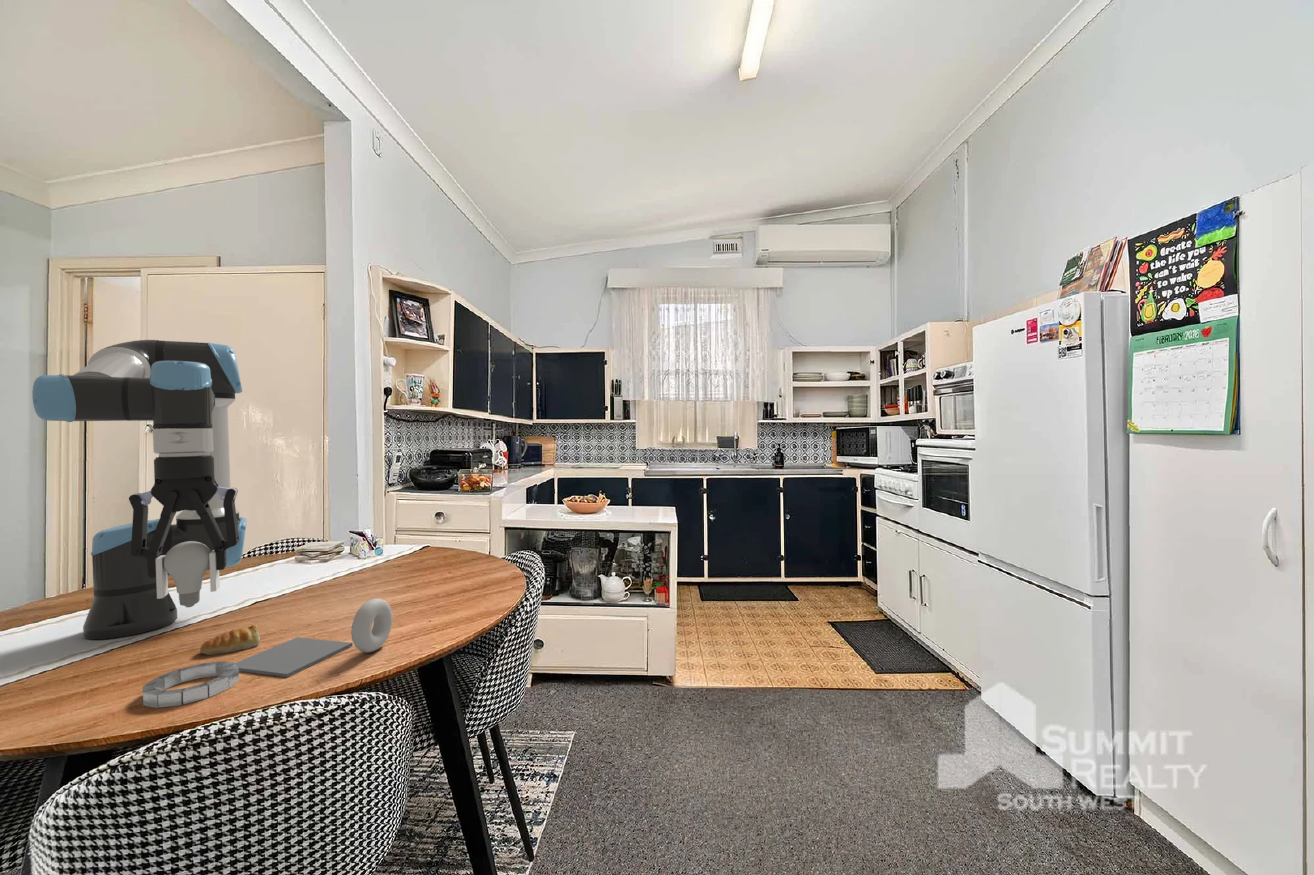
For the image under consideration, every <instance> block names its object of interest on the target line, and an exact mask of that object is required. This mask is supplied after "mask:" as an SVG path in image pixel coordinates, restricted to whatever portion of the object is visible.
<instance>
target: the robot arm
mask: <svg viewBox="0 0 1314 875" xmlns="http://www.w3.org/2000/svg"><path fill="white" fill-rule="evenodd" d="M240 393H243V388H242V384H241V378H240V373H239V368H238V362H237V357H236V352H235V350H234V349H233V347H231V346H229V345H226V344H220V343H211V342H194V341H178V340H177V341H175V340H158V339H140V340H132V341H126V342H119V343H116V344H113V345H109V346H106V347H104V348H102V349H100V350H98V351H96V352H95V353H93V354H92V356H91V357H89V360H88V363H87V365H86V366H85V367H83V368H82V369H80V370H79V371H77V372H75V373H74V374H73V375H71V374H70V375H69V374H66V375H65V374H63V373H61V374H60V373H59V374H50V375H49V374H47V375H46V374H45V375H44V374H43V375H39V376H38V377H36V378H35V379H34V381H33V385H32V395H31V396H32V404H33V408H34V412H35V414H36V415H37V417H38V418H40V419H41V420H44V421H50V422H54V421H55V422H67V423H73V422H109V421H110V422H111V421H112V422H113V421H116V422H117V421H118V422H119V421H121V422H123V421H124V422H125V421H128V422H132V421H133V422H136V421H137V422H138V421H139V422H141V421H143V422H145V421H147V422H150V421H152V422H153V423H152V424H153V425H152V441H153V442H152V445H153V446H152V447H153V453H154V454H158V457H155V459H153V469H154V470H153V471H154V472H153V474H154V475H153V476H154V479H153V480H154V483H153V486H152V487H151V489H150V490H148V491H146V492H141V493H140V492H138V493H134V494H131V495H130V496H129V497H128V501H129V503H130V505H131V507H132V510H133V511H132V522H131V523H125V524H121V525H118V526H113V527H108V528H106V529H103V530H100V531H98V532H97V533H95V535H94V536H93V537H92V545H91V546H92V547H91V552H90V555H91V559H92V562H91V563H92V579H93V580H92V583H93V599H92V603H91V604H90V609H89V611H88V614H87V616H86V619H85V621H84V623H83V625H82V626H83V628H82V631H83V632H82V633H83V634H82V636H84V637H85V638H84V637H83V638H84V639H86V638H87V639H86V640H107V638H109V639H116V637H117V638H122V636H124V637H129V636H134V635H139V634H143V633H147V632H149V631H150V632H151V631H155V630H156V629H160V628H164V627H165V626H168V625H170V623H171V624H173V623H174V622H176V621H177V620H178V608H177V607H176V604H175V603H174V600H173V598H172V597H171V594H170V592H169V584H168V583H169V582H168V577H170V575H169V574H168V572H167V571H166V570H165V567H164V557H165V555H166V554H167V552H168V551H169V550H170V549H171V548H172V547H174V546H175V545H177V544H179V543H183V542H187V541H195V542H200V543H202V544H204V545H206V546H207V547H208V548H209V549H210V551H211V552H210V553H209V562H210V566H209V568H208V569H207V571H209V581H210V582H209V583H210V586H209V587H210V592H211V593H213V592H217V591H218V590H219V589H220V585H221V584H220V583H221V582H220V571H223V570H225V569H226V568H230V567H235V566H238V565H239V564H240V562H241V561H242V559H243V553H244V552H243V551H244V545H245V537H246V528H247V522H248V520H247V518H246V517H243V516H241V517H240V511H239V510H238V509H237V507H236V502H235V501H236V498H237V495H238V493H239V492H238V491H239V490H238V489H237V488H236V487H231V469H230V466H231V465H230V441H229V440H230V439H229V412H228V410H229V407H230V405H232V404H233V403H234V402H235V401H236V394H240ZM153 498H154V499H155V500H156V501H157V502H159V503H160V504H161V505H162V510H161V513H160V516H159V518H157V519H149V505H150V504H151V503H152V499H153ZM177 512H179V514H177ZM176 514H177V515H176ZM174 518H175V521H176V523H174V524H172V523H173V520H174ZM148 519H149V520H148ZM176 619H177V620H176ZM175 620H176V621H175Z"/></svg>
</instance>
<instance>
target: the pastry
mask: <svg viewBox="0 0 1314 875" xmlns="http://www.w3.org/2000/svg"><path fill="white" fill-rule="evenodd" d="M260 643H261V636H260V634H259V629H258V625H257V624H252V625H250V626H243V627H237V628H233V629H232V630H230V631H225V632H223V633H221V634H219V635H216V636H215V637H214V638H211V639H209V640H207V641H205V642H204V643H202V644H201V646H200V647H199V648H200V650H199V651H200V653H202V654H203V655H207V656H209V655H210V656H214V655H220V654H221V655H222V654H230V653H232V652H237V650H239V651H241V650H240V649H243V650H247V649H251V647H252V648H255V647H258V646H259V645H260ZM257 645H258V646H257ZM254 646H255V647H254Z"/></svg>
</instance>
